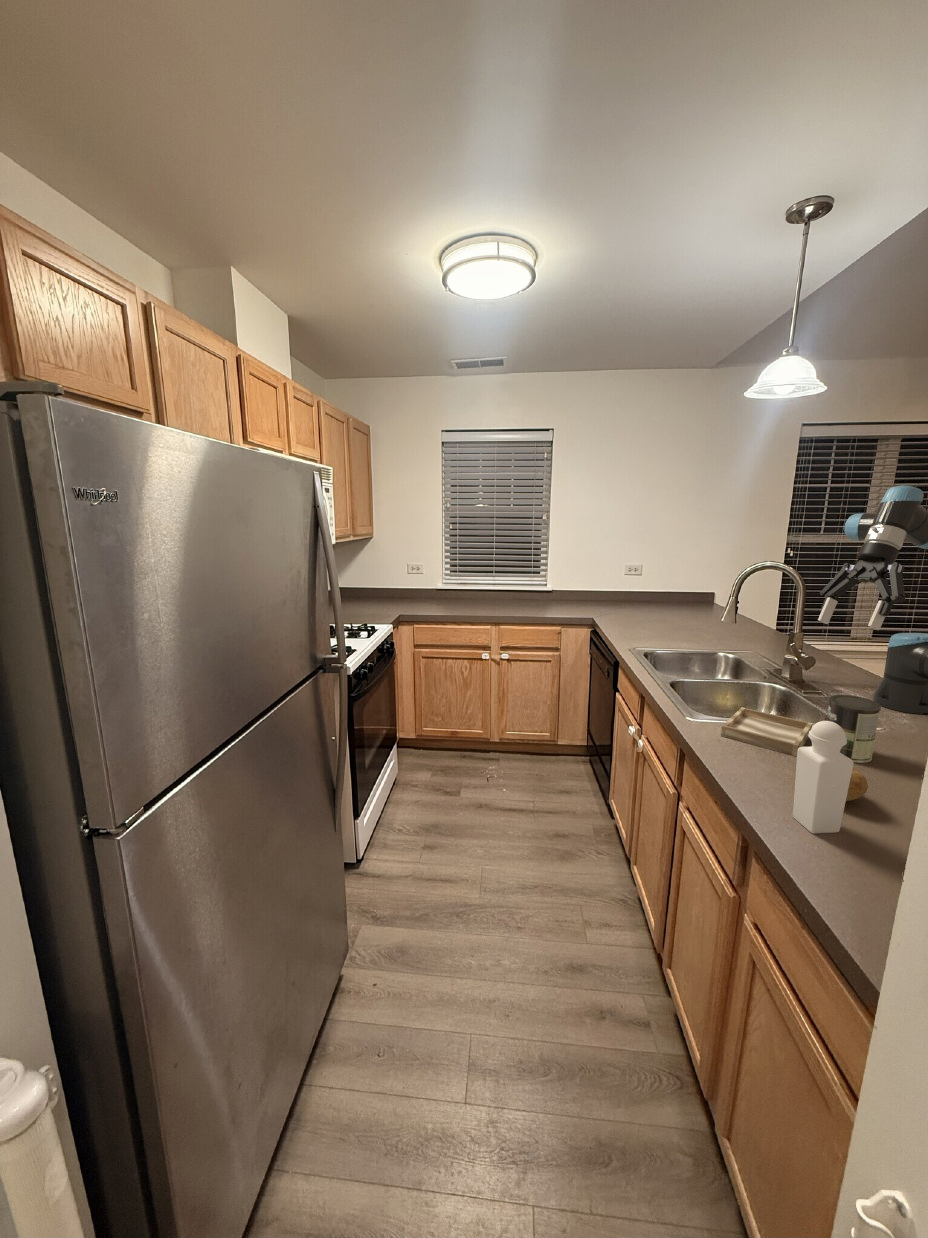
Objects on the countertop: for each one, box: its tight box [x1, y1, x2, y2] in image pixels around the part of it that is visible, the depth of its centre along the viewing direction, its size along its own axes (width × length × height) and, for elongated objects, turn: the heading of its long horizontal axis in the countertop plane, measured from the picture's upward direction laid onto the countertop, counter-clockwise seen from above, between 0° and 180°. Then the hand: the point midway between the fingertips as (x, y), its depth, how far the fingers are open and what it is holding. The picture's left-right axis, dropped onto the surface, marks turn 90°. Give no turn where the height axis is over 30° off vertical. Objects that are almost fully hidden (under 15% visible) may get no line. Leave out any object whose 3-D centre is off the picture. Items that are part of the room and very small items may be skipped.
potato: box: [846, 767, 869, 802], centre depth 109 cm, size 10×14×8 cm
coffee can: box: [826, 694, 882, 764], centre depth 126 cm, size 10×10×14 cm
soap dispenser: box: [792, 720, 854, 834], centre depth 97 cm, size 6×6×22 cm
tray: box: [720, 706, 814, 757], centre depth 139 cm, size 18×18×3 cm
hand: (846, 625), depth 125 cm, fingers open, 13 cm apart
